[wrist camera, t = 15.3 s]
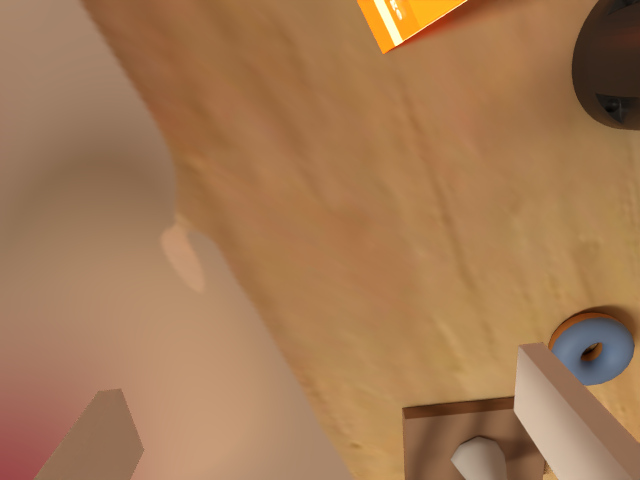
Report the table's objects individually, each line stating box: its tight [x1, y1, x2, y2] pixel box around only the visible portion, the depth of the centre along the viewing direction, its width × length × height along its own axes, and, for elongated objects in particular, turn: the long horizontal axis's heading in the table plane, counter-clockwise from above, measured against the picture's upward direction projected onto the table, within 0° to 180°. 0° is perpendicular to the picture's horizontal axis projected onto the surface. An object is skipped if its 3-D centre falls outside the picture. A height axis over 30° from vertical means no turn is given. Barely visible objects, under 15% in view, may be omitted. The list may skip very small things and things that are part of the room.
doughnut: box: [548, 312, 635, 386], centre depth 49 cm, size 10×10×5 cm
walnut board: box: [402, 397, 545, 480], centre depth 55 cm, size 20×16×2 cm
